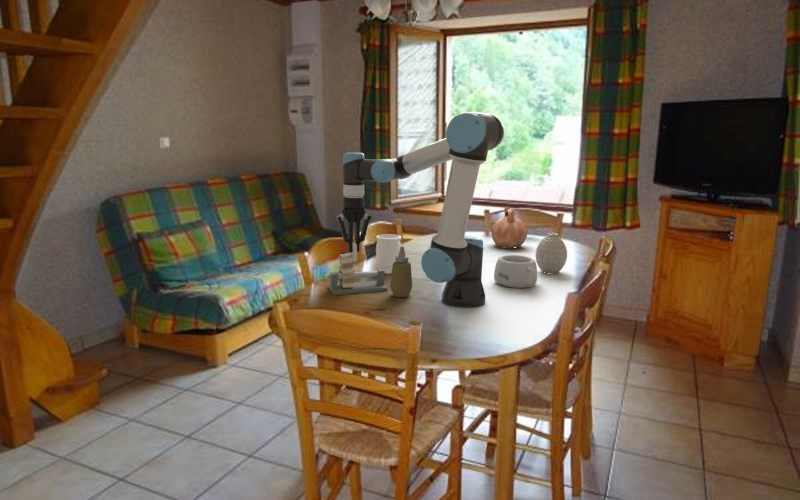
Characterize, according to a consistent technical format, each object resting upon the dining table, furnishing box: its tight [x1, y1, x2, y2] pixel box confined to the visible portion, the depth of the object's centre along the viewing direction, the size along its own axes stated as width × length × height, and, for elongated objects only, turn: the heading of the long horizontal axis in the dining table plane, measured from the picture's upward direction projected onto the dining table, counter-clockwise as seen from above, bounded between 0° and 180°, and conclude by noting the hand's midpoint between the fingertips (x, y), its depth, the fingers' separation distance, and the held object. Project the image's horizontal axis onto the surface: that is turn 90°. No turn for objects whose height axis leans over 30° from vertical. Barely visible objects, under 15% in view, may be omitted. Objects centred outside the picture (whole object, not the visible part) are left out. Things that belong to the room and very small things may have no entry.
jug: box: [490, 206, 529, 248], centre depth 286 cm, size 18×18×20 cm
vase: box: [535, 232, 568, 274], centre depth 238 cm, size 13×13×17 cm
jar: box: [375, 233, 402, 275], centre depth 233 cm, size 11×10×15 cm
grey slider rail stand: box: [327, 268, 388, 296], centre depth 209 cm, size 10×20×7 cm, turn 109°
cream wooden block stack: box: [338, 253, 355, 288], centre depth 207 cm, size 7×4×11 cm, turn 19°
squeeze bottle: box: [389, 245, 413, 298], centre depth 201 cm, size 8×8×18 cm
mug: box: [493, 254, 538, 289], centre depth 218 cm, size 21×17×10 cm
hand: (353, 260), depth 207 cm, fingers closed
